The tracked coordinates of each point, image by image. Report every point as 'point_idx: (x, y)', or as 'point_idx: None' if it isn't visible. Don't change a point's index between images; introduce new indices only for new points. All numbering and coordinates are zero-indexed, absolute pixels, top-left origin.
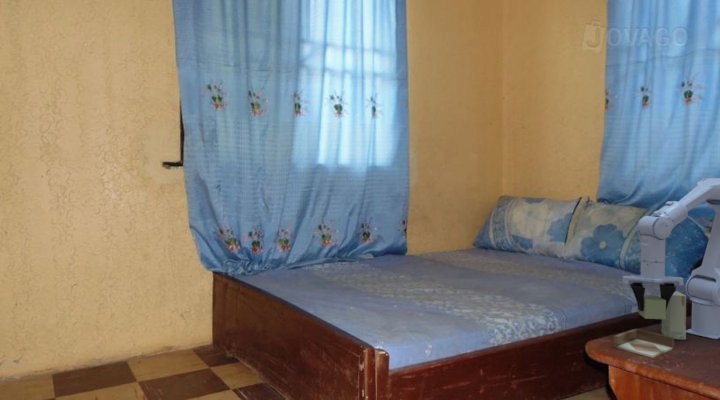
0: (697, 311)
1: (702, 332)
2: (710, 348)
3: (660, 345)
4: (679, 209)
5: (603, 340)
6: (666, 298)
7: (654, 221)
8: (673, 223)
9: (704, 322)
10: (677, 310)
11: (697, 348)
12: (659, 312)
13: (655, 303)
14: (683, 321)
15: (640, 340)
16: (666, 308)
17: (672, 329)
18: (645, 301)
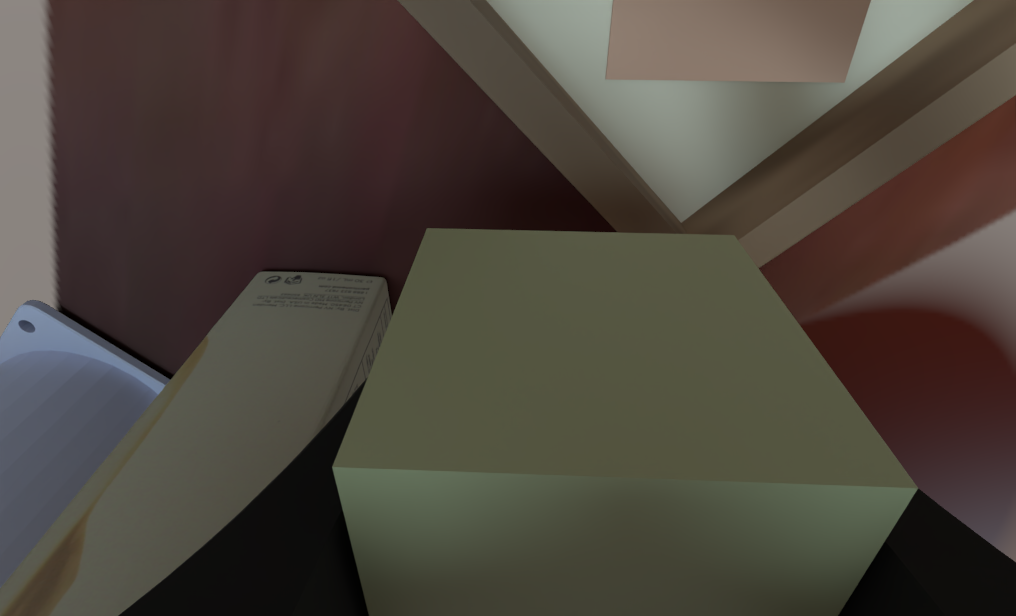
0: (25, 547)
1: (110, 379)
2: (73, 56)
3: (546, 24)
4: None
5: (1003, 192)
6: (287, 564)
7: None
8: None
9: (33, 437)
10: (197, 474)
11: (190, 39)
12: (516, 283)
13: (611, 412)
14: (198, 374)
15: (678, 175)
16: (356, 393)
17: (338, 323)
18: (892, 457)
